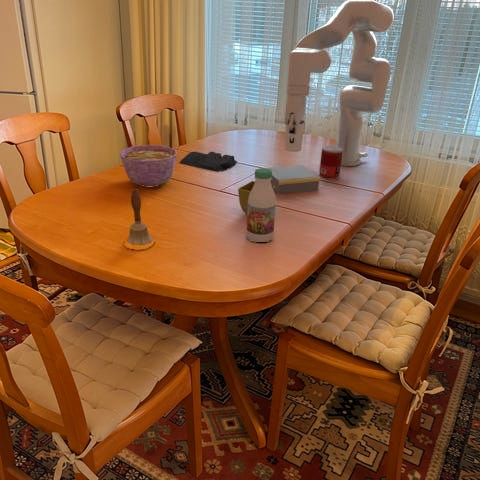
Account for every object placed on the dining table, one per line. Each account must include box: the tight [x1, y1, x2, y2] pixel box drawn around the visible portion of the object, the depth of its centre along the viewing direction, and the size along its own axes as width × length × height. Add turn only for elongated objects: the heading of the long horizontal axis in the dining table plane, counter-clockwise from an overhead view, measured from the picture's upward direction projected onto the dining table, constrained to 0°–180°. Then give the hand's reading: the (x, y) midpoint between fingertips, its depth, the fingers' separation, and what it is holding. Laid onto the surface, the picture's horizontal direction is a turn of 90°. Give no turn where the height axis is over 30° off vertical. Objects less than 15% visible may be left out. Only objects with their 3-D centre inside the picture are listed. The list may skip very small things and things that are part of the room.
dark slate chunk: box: [179, 151, 238, 173], centre depth 189 cm, size 15×22×5 cm
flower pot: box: [237, 180, 276, 215], centre depth 143 cm, size 9×9×9 cm
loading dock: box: [264, 164, 321, 195], centre depth 168 cm, size 16×15×5 cm
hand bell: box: [126, 188, 154, 246], centre depth 121 cm, size 8×8×16 cm
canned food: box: [318, 145, 343, 179], centre depth 178 cm, size 8×8×11 cm
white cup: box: [284, 121, 306, 153], centre depth 161 cm, size 7×7×10 cm
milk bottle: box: [246, 167, 277, 243], centre depth 125 cm, size 8×8×20 cm
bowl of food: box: [119, 144, 178, 186], centre depth 164 cm, size 20×20×12 cm
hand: (293, 143), depth 162 cm, fingers closed on white cup, 2 cm apart
